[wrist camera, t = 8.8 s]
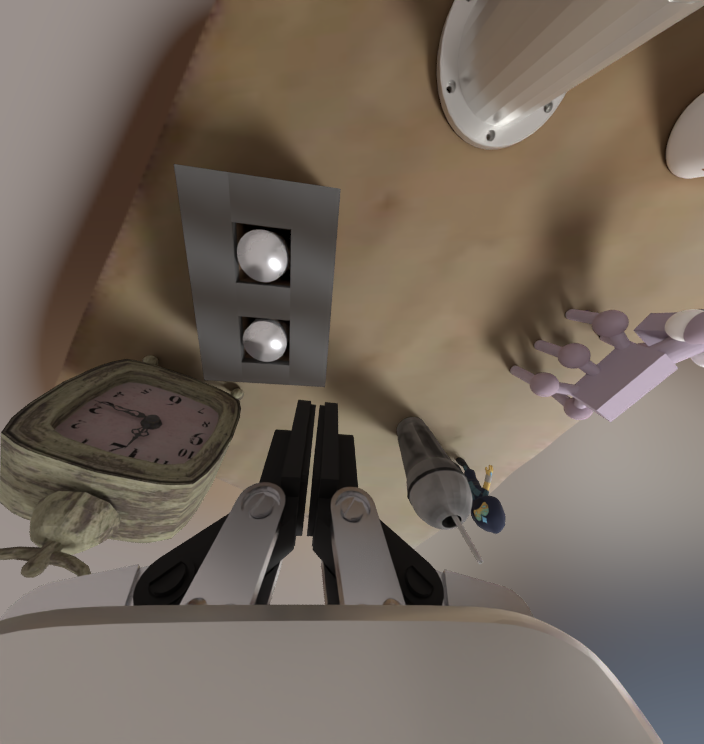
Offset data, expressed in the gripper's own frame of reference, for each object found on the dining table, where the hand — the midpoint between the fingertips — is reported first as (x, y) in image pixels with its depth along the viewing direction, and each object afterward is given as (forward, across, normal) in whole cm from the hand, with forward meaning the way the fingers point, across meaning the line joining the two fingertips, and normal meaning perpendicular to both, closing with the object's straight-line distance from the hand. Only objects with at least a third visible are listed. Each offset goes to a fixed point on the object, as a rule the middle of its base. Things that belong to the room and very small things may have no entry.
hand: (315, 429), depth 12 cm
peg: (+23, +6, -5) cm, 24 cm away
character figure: (+23, -25, +24) cm, 42 cm away
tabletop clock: (+23, +17, +14) cm, 32 cm away
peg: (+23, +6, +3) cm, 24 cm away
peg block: (+23, +6, -1) cm, 24 cm away
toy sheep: (+24, -35, 0) cm, 42 cm away
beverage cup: (+23, -15, +18) cm, 33 cm away
